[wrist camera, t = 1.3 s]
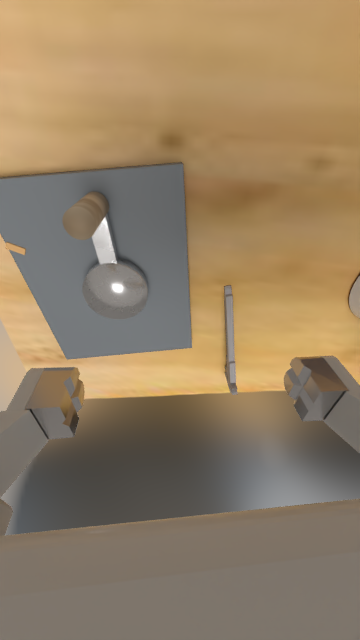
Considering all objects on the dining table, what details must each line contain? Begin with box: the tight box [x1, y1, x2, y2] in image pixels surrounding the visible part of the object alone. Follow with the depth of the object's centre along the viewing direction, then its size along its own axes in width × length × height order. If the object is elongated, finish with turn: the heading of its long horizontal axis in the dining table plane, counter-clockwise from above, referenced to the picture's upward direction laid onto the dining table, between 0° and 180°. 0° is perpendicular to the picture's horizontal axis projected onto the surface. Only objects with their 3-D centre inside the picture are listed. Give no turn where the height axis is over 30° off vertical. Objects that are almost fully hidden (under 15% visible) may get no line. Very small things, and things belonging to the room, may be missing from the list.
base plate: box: [0, 162, 192, 359], centre depth 32 cm, size 21×26×2 cm
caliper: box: [224, 285, 237, 395], centre depth 39 cm, size 20×1×6 cm, turn 7°
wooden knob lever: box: [62, 191, 148, 319], centre depth 27 cm, size 15×8×7 cm, turn 4°
